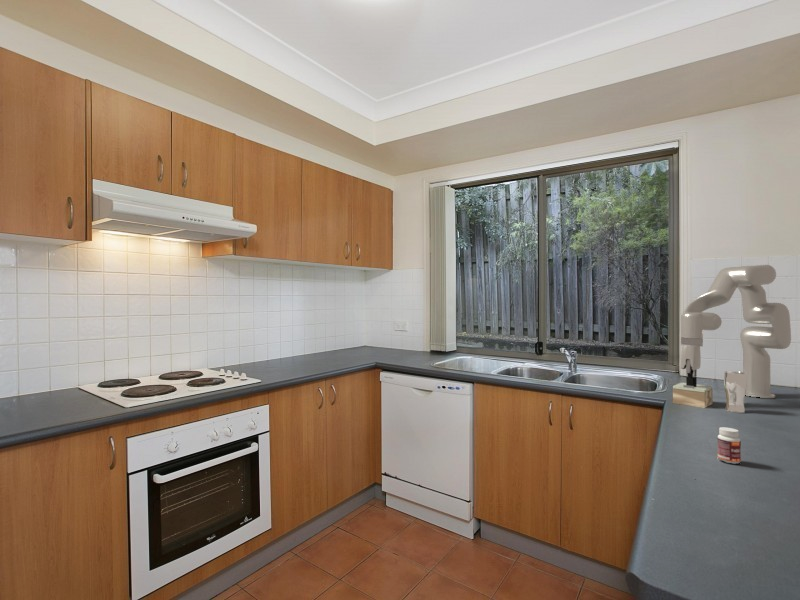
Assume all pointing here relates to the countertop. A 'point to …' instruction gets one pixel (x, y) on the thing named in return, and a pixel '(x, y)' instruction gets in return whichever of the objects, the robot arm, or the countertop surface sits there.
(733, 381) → the beer glass
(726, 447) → the pill bottle
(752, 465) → the countertop surface
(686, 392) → the light wooden box
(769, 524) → the countertop surface
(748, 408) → the countertop surface
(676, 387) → the box lid
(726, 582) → the countertop surface
